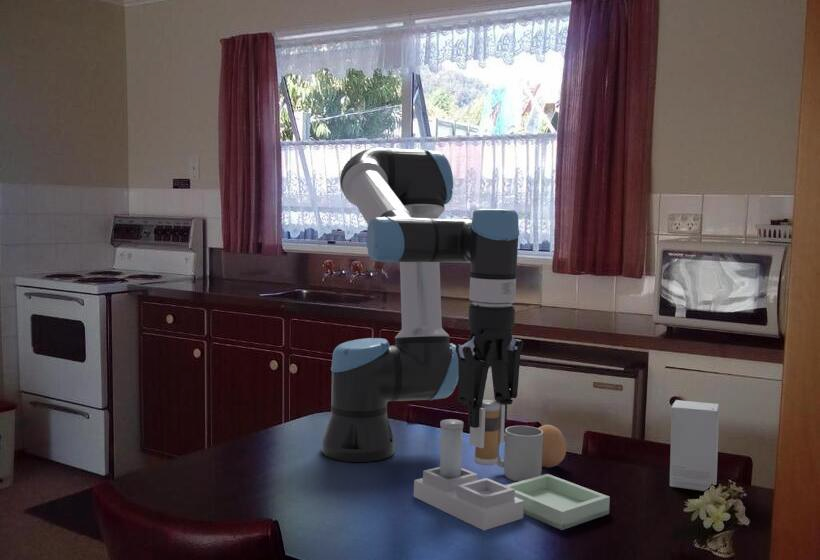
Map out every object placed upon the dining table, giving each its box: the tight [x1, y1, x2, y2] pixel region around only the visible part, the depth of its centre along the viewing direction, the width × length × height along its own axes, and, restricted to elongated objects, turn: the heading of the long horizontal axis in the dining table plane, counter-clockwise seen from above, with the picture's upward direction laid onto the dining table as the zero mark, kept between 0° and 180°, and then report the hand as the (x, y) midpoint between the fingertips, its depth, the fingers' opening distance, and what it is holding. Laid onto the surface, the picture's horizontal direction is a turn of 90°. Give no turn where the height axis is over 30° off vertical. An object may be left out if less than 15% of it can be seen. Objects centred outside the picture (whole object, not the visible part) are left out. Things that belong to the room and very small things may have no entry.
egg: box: [537, 424, 567, 469], centre depth 156 cm, size 7×7×8 cm
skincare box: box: [669, 399, 720, 492], centre depth 147 cm, size 8×7×16 cm
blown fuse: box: [474, 399, 500, 466], centre depth 129 cm, size 4×4×10 cm
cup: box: [496, 425, 543, 482], centre depth 150 cm, size 7×10×9 cm
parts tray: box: [504, 473, 611, 531], centre depth 134 cm, size 14×12×3 cm
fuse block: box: [413, 418, 524, 532], centre depth 133 cm, size 18×9×14 cm, turn 38°
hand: (486, 443), depth 129 cm, fingers closed on blown fuse, 4 cm apart
